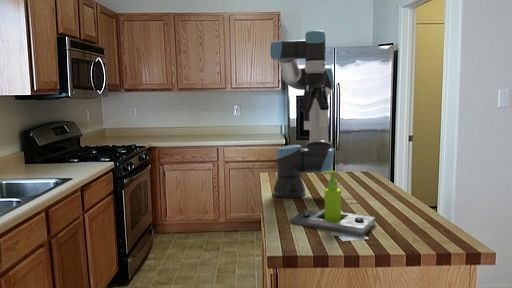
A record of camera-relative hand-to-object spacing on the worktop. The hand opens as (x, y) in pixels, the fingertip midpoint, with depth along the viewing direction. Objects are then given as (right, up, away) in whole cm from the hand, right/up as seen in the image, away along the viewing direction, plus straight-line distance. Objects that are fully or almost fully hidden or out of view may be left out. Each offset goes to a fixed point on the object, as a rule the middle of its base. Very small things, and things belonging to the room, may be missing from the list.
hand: (315, 128), depth 157 cm
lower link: (+2, -36, -5) cm, 36 cm away
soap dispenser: (+5, -36, -7) cm, 37 cm away
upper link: (+8, -36, -9) cm, 38 cm away
